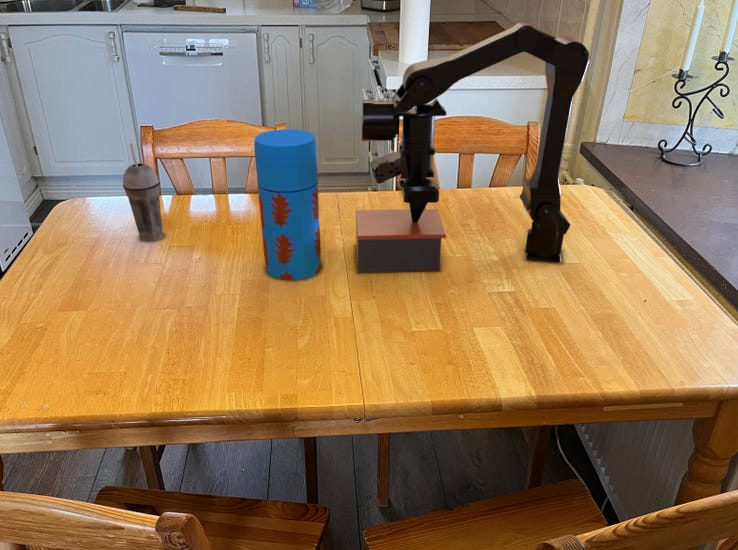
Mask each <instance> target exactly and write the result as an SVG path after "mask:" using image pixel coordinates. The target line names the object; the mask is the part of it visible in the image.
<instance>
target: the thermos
mask: <svg viewBox="0 0 738 550" xmlns="http://www.w3.org/2000/svg"><path fill="white" fill-rule="evenodd" d="M253 149H254V150H253V152H254V159H255V171H256V182H257V192H258V193H257V194H258V204H259V211H260V212H259V213H260V214H259V215H260V225H261V234H262V245H263V247H262V248H263V257H264V262H265V269H266V273H267V274H268V275H269V276H270V277H273V278H275V279H278V280H283V281H299V280H305V279H307V278H312V277H313V276H315V275H316V274H318V273H319V272H320V269H321V260H322V258H321V256H322V254H321V253H322V249H321V248H322V246H321V245H322V244H321V226H320V203H319V202H320V201H319V182H318V181H319V180H318V179H319V178H318V156H317V155H318V154H317V144H316V138H315V135H314V134H313V133H311V132H310V131H307V130H302V129H293V128H291V129H289V128H282V129H272V130H268V131H263V132H261V133H259V134H257V135H255V137H254V147H253Z"/></svg>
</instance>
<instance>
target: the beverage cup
mask: <svg viewBox="0 0 738 550" xmlns="http://www.w3.org/2000/svg"><path fill="white" fill-rule="evenodd" d="M129 146H130V149H131V150H130V151H131V155H132V160H133V163H134V164H131V165H130V166H128V167H127V168H126V169H125V171H124V173H123V176H122V188H123V190H124V192H125V195H126V197H127V199H128V203H129V205H130V208H131V212H132V215H133V218H134V222H135V226H136V229H137V232H138V234H139V238H140V241H143V242H155V241H158V240H160V239H162V238H163V222H162V211H161V210H162V209H161V200H160V190H161V189H160V187H161V185H160V184H161V182H160V180H159V177H158V174H157V173H156V171H155V170H154V169H153V168H152V167H150V166H149V165H147V164H145V163H141V162H140V163H138V161H137V157H136V153H135V149H134V144H133V143H131V142H130V143H129Z"/></svg>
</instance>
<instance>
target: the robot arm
mask: <svg viewBox="0 0 738 550" xmlns="http://www.w3.org/2000/svg"><path fill="white" fill-rule="evenodd" d="M524 52H525V53H527V54H528V55H531V56H533V57H535V58H537V59H538V60H541V61H543V62H544V63H545V65H544V69H545V70H544V71H545V81H546V89H547V95H546V101H545V107H544V112H543V113H544V114H543V119H542V120H543V121H542V126H541V131H540V136H539V137H540V138H539V145H538V151H537V158H536V162H535V169H534V171H533V173H532V175H531V176H530V178H527V177H523V178H522V189H521V193H520V194H519V199H520V200H521V202H522V205H523V208H524V209H525V211H526V212H527V214H528V216H529V217H530V219H531V221H532V222H531V227H530V228H529V229H528V228H527V234H526V242H525V249H524V252H525V254H526V260H529V261H538V262H548V263H556V264H557V263H561V261H562V249H563V248H562V247H563V242H564V236H565V235H567V232H568V231H569V229H570V227H571V223H570V222H569V221H568V219H567V218H566V217H565V214H563V212H562V211H561V210H562V209H561V208H562V207H561V204H562V203H561V202H562V201H561V199H562V198H561V197H562V194H561V185H560V176H559V175H560V169H561V164H562V159H563V153H564V148H565V142H566V136H567V132H568V126H569V120H570V115H571V111H572V110H571V109H572V104H573V99H574V96H575V94H576V93H577V91H578V90H579V87H580V86H581V84H582V83H583V80H584V77H585V75H586V72H587V68H588V65H589V63H590V51H589V50H588V49H587V47H586V46H585V45H584V44H583V43H582V42H579V41H578V40H576V39H575V38H573V37H571V36H568V35H561V36H558V37H555V36H553V35H551V34H548V33H547V32H544V31H542V30H539V29H538V28H535V27H533V26H532V25H530V23H527V22H524V21H523V22H517V23H515V24H514V25H513V26H512V27H511V28H508V29H506V30H504V31H501V32H499V33H497V34H495V35H493V36H490V37H489V38H486V39H484V40H482V41H479V42H477V43H475V44H473V45H471V46H469V47H465V48H464V49H462V50H460V51H457V52H455V53H453V54H451V55H448V56H443V57H436V58H430V59H425V60H421V61H418V62H414V63H412V64H411V65H408V67H407V68H405V71H404V73H403V75H402V83H401V84H400V86H399V87H398V88H397V90H396V91H395V93H394V94H393V96H392V97H391V100H385V101H384V100H379V101H375V100H370V99H368V100H367V99H366V100H365V99H363V100H362V108H361V110H362V111H361V114H362V115H361V116H360V127H361V129H360V130H361V142H393V141H394V139H397V136H400V123H401V122H400V121H401V120H400V117H402V130H401V131H402V135H401V136H402V137H401V142H400V143H399V144H398V150H397V151H395V152H391V153H388V154H385V155H382V156H379V157H377V158H374V159H372V160H371V161H370V168H371V171H372V173H373V176H374V179H375V182H376V184H377V185H379V184H383V183H385V182H386V181H388V180H391V179H393V178H396V177H399V176H400V179H401V180H399V181H398V183H399V187H400V192H401V195H402V200H403V203H406V204H408V206H409V209H410V212H411V218H412V222H418V221H419V219H420V217H421V215H422V213H423V211H424V209H426V207H427V205H428V204H433V203H438V202H440V190H439V187H438V185H437V183H436V182H435V181H434V180H433V179H430V178H435V171H434V167H433V166H434V165H433V164H434V156H435V155H436V148H435V146H434V145H435V124H436V117H445V116H447V111H446V109H445V107H444V106H443V105H442V104H441V103H440V101H439V100H438V98H439V97H440V96H442V95H444V93H446V92H447V91H448V90H449V89H450V88H451V87H452V86H454V85H455V84H456V83H458V82H459V81H461V80H463V79H465V78H468V77H470V76H472V75H474V74H477V73H479V72H481V71H483V70H484V69H487V68H491V67H492V66H495V65H496V64H499V63H501V62H504V61H505V60H508V59H510V58H512V57H514V56H517V55H519V54H521V53H524Z"/></svg>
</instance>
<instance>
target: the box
mask: <svg viewBox="0 0 738 550" xmlns="http://www.w3.org/2000/svg"><path fill="white" fill-rule="evenodd" d="M355 246H356V260H357V273H358V274H368V273H369V274H371V273H375V274H376V273H417V272H419V273H421V272H440V266H441V253H442V252H441V250H442V238H424V239H364V240H358V235H357V222H356V221H355Z"/></svg>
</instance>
